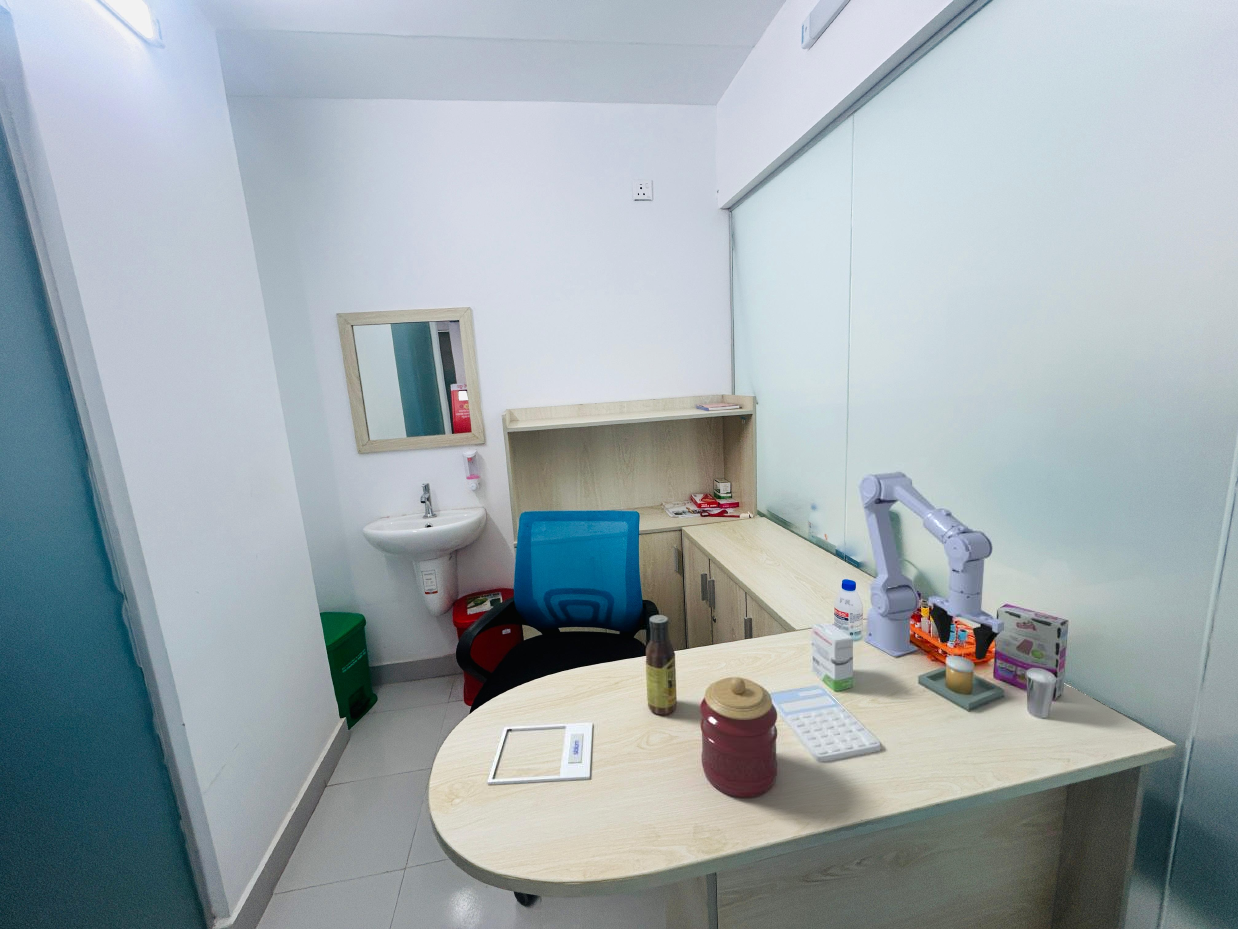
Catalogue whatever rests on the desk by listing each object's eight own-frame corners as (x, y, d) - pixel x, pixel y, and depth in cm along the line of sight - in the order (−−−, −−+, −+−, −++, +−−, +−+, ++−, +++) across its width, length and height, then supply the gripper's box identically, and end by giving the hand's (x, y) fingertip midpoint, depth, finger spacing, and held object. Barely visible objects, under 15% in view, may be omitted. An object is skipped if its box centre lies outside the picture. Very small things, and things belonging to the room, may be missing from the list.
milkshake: (1059, 725, 96) (1063, 677, 95) (1023, 715, 100) (1027, 668, 98) (1057, 712, 100) (1061, 666, 98) (1023, 703, 103) (1026, 658, 102)
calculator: (817, 766, 90) (817, 756, 90) (765, 699, 109) (765, 691, 109) (883, 752, 92) (883, 743, 92) (821, 690, 112) (821, 682, 112)
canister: (702, 797, 84) (700, 700, 81) (700, 743, 96) (698, 657, 94) (783, 803, 82) (783, 703, 79) (771, 746, 95) (770, 659, 92)
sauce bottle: (675, 717, 104) (672, 627, 101) (645, 715, 105) (641, 626, 102) (678, 698, 110) (675, 613, 107) (650, 696, 112) (646, 611, 109)
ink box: (853, 687, 111) (854, 638, 109) (834, 692, 110) (835, 641, 108) (828, 667, 119) (829, 620, 118) (810, 671, 118) (810, 624, 117)
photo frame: (589, 775, 89) (487, 781, 89) (589, 781, 89) (487, 787, 89) (592, 721, 103) (504, 726, 103) (592, 726, 103) (504, 731, 103)
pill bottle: (939, 684, 110) (940, 658, 109) (956, 679, 111) (958, 654, 111) (960, 697, 105) (961, 670, 104) (978, 691, 107) (980, 665, 106)
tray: (918, 683, 112) (918, 675, 111) (952, 670, 116) (952, 663, 115) (968, 711, 102) (968, 703, 101) (1003, 697, 106) (1004, 689, 105)
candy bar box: (1063, 693, 106) (1070, 619, 103) (1055, 702, 103) (1061, 627, 101) (1001, 670, 115) (1005, 602, 113) (991, 677, 112) (996, 608, 110)
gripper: (919, 580, 110) (917, 638, 112) (989, 606, 97) (985, 671, 99) (942, 575, 113) (939, 631, 115) (1012, 598, 100) (1008, 662, 102)
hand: (961, 649), depth 107 cm, fingers open, 7 cm apart
